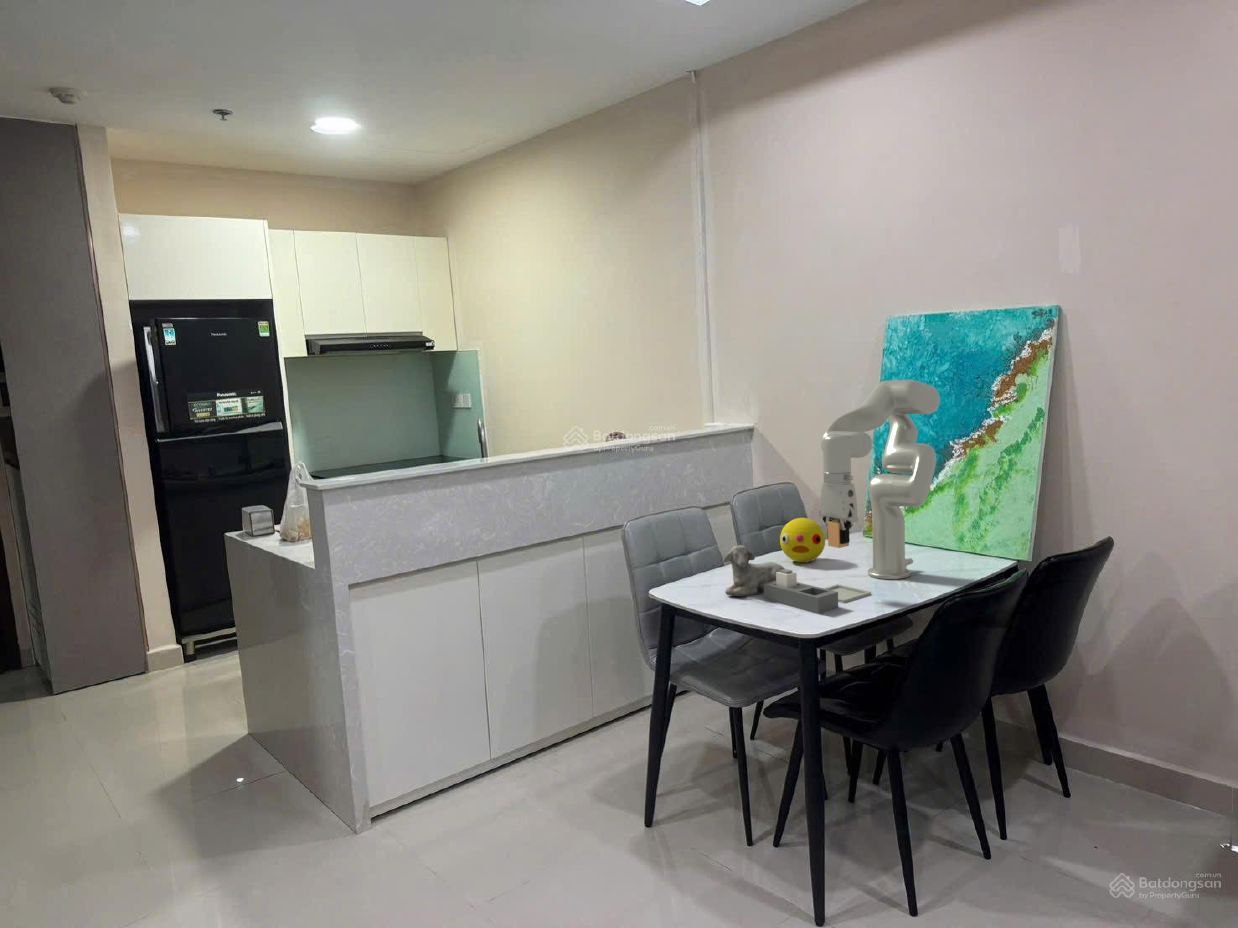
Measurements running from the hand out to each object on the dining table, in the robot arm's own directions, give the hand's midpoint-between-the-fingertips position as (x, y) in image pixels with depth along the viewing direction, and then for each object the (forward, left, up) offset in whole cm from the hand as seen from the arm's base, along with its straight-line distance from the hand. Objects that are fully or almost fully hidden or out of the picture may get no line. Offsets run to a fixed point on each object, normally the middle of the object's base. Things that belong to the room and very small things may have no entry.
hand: (838, 541), depth 233 cm
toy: (-24, -35, -16) cm, 45 cm away
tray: (-1, 0, -16) cm, 16 cm away
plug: (0, 0, -1) cm, 1 cm away
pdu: (+14, -2, -16) cm, 22 cm away
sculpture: (+12, -20, -17) cm, 29 cm away
